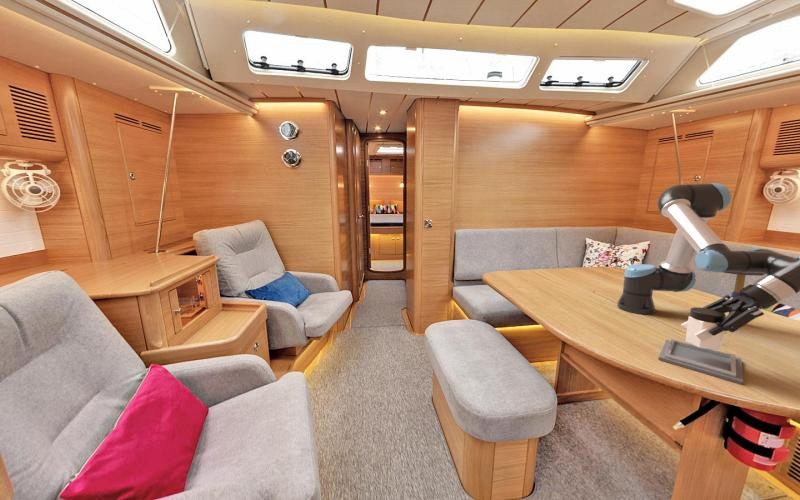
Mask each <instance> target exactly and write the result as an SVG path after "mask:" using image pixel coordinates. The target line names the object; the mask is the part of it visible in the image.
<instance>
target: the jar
mask: <svg viewBox="0 0 800 500" xmlns="http://www.w3.org/2000/svg"><path fill="white" fill-rule="evenodd" d="M726 316H727V315H726V313H722V312H720V311H717V310H712V309H707V308H703V307H691V308H690V310H689V316H688V319H687V321H688V326H687V330H686V335H685V343H688V344H692V345H694V346H697V347H699V348H704V349H711V350H716V351H720V349H721V347H722V344H723V337H724V334H725V333H724V332H725V331H723V332H721V333H719V334H717V335H714V336H712V337H710V338H708V339H706V340H705V341H701V340H700V339H699V338H698V337H697V336H696V335H695V334H696V333H698V332H700V331H702V330H703V329H705V328H707V327H709V326H711V325H713V324H716V322H719V323H720V322H721V321H722V320H723V319H724V318H725V317H726Z"/></svg>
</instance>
